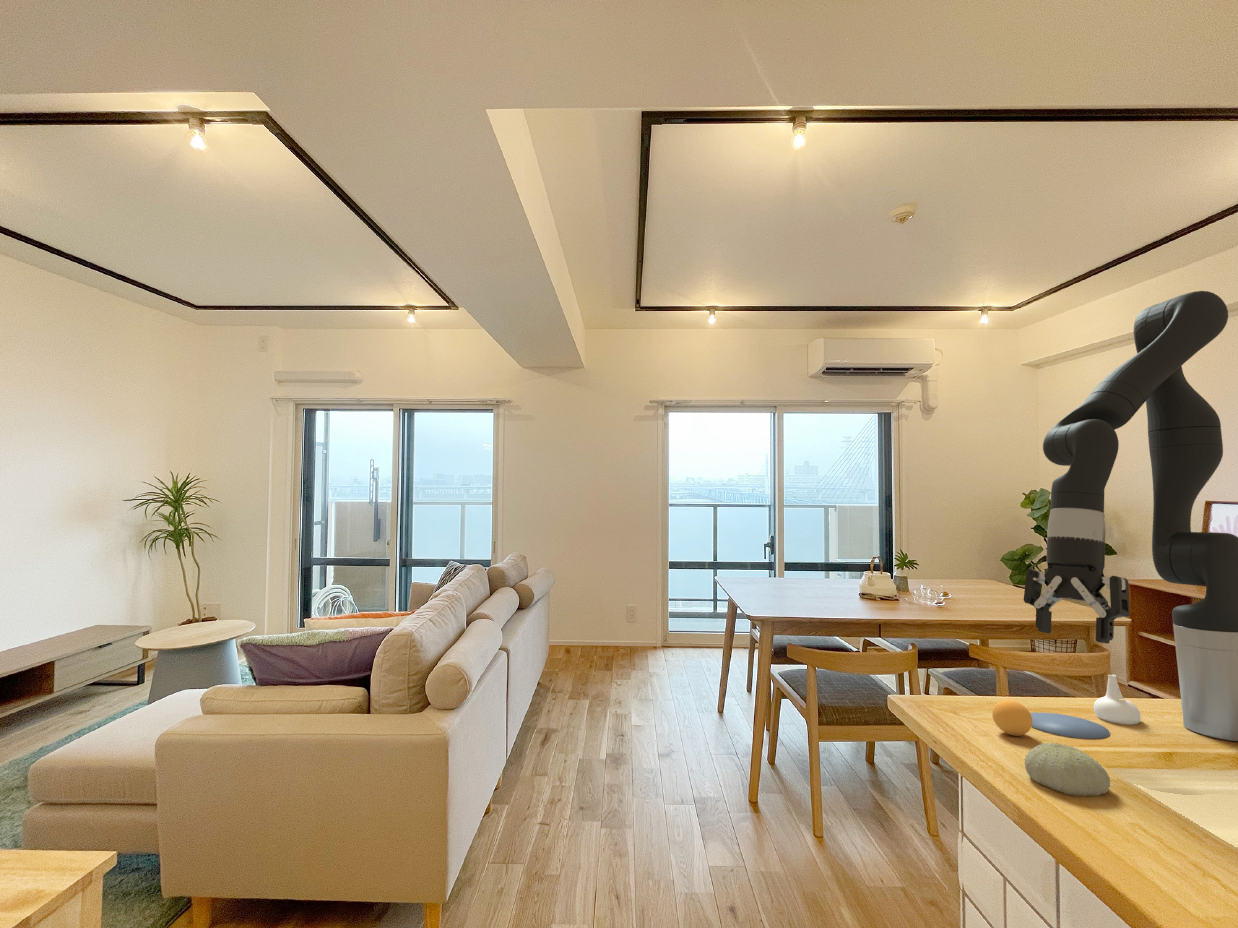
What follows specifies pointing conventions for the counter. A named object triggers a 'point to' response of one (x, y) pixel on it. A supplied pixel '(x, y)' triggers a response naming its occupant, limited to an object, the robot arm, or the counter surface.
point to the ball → (1012, 717)
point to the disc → (1068, 726)
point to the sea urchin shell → (1066, 770)
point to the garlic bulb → (1116, 706)
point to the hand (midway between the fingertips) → (1072, 637)
